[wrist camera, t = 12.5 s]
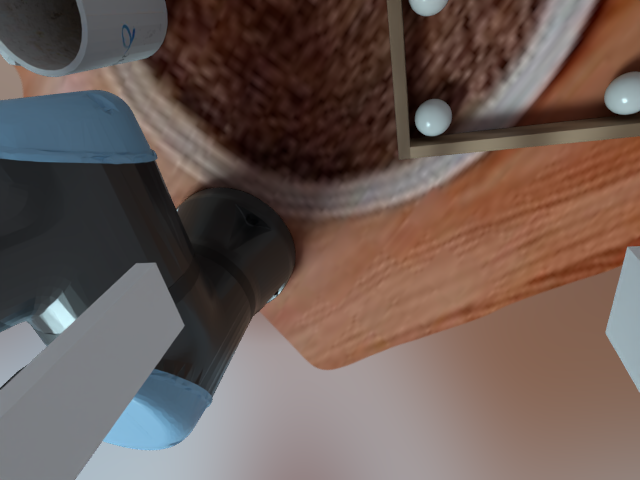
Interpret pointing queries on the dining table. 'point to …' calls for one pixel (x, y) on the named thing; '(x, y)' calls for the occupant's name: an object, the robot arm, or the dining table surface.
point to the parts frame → (488, 138)
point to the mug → (79, 33)
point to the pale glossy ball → (433, 117)
